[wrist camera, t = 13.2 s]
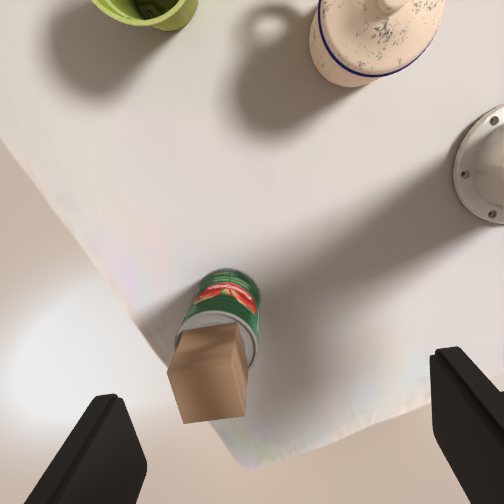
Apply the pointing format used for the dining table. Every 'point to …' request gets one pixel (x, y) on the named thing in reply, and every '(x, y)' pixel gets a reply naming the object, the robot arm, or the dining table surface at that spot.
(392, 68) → the teacup with lid
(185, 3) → the plant pot
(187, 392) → the walnut block
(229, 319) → the canned tomato
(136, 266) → the dining table surface
